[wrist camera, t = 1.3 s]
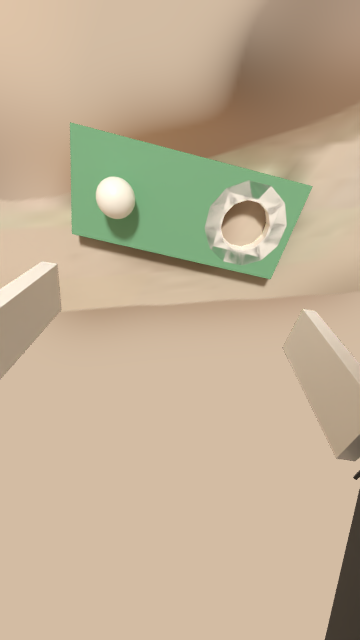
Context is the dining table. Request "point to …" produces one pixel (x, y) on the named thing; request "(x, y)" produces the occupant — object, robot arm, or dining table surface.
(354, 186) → the dining table surface
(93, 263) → the dining table surface
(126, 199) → the ball
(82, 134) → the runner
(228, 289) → the dining table surface
